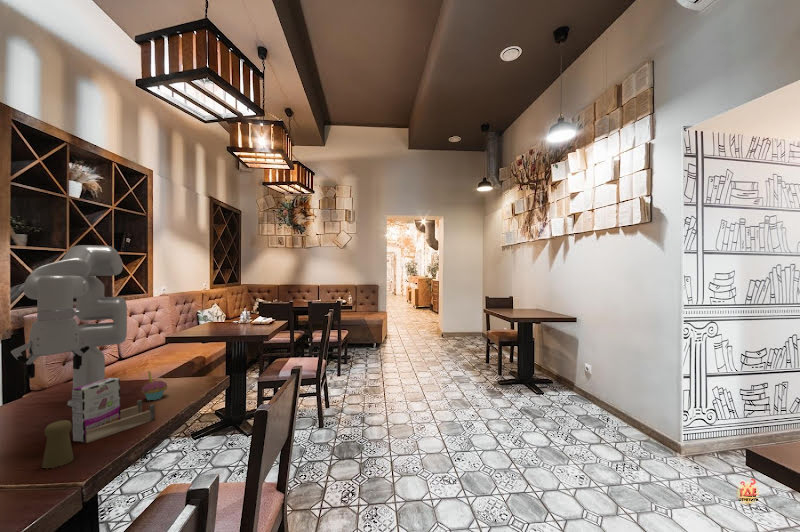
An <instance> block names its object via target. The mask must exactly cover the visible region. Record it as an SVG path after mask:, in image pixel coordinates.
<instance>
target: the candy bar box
mask: <svg viewBox="0 0 800 532" xmlns="http://www.w3.org/2000/svg"><path fill="white" fill-rule="evenodd" d="M71 399H72V407H71V410H72V411H71V412H72V415H71V417H72V441H73V442H76V443H86V430H90V429H93V428H96V427H99V426H102V425H105V424H108V423H111V422H114V421H118V420H121V415H120V411H121V378H118V377H107V378H105V379H104V380H100V381H97V382H94V383H91V384H87V385H84V386H81V387H78V388H74V389H73V388H71Z"/></svg>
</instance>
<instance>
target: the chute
mask: <svg viewBox="0 0 800 532" xmlns="http://www.w3.org/2000/svg"><path fill="white" fill-rule="evenodd" d="M155 413H156V412H155V404H154V403H153V404H150V405H148V410H146V411H143V400H142V399H139V400H137V401H136V405H134V406H130V407H127V408H124V409H120V415H121V420H118V421H114V422H111V423H108V424H105V425H102V426H99V427H96V428H93V429H90V430H86V442H85V443H86V444H88V443H89V444H90V443H91V442H95V441H98V440H100V439H103V438H107V437H109V436H112V435H115V434H118V433H120V432H124V431H127V430H129V429H132V428H135V427H138V426H141V425H144V424H146V423H150V422H152V421H155V420H156V419H155V416H156V414H155Z"/></svg>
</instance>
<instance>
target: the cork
mask: <svg viewBox="0 0 800 532" xmlns="http://www.w3.org/2000/svg"><path fill="white" fill-rule="evenodd" d="M72 428H73V423H72V422H71V421H70V420H68V419H67V420H66V419H64V420H63V419H62V420H57V421H55V422H51V423H49V424H48V425H47V426H46V427H45V428H44V435H45V437H46V444H45V448H44V455H43V460H42V465H41V469H42V468H47V469H46V470H49V469H48V468H52V469H56V468H55V467H57V468H59V467H58V466H60V467H62V465H63V466H65V465H68V464H69V463H71V462H72V461H73V460H74V453H73V448H72V443H71V436H70V431H71V430H72ZM64 464H65V465H64Z"/></svg>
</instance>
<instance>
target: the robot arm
mask: <svg viewBox="0 0 800 532" xmlns="http://www.w3.org/2000/svg"><path fill="white" fill-rule="evenodd" d="M123 269H124V265H123V260H122V258H121V256H120V254H119V252H118V250H117V249H115V248H114V247H113V246H110V245H97V244H96V245H91V244H87V245H86V244H82V245H75V246H72V247H71V248H70V249H68V251H66V253H65V255H64V256H63V258H62V259H61V260H57V261H53V262H51V263H48V264H45V265H40V266H39V267H37V268H35V269H33V270H32V271H31V273H30V274H29V275H28V276H27V278H25V281H24V284H23V288H22V289H23V294H24V295H25V296H26V297H27V298H28V299H30V300H37V304H36V305H37V307H36V309H37V312H36V321H33V322H32V324H31V327H30V333H29V338H28V342H27V343H25V344H23V345H21V346H18V347H17V348H14V349H13V350H10V353H11V354H12V356H13V357H14V358H15V359H16V360H17V361H19V362H21V363H23V364H24V366H25V367H24V368H25V369H24V375H25V376H26V377H27V378H30V379H34V378H35V377H36V364H35V363H34V361H36V360H37V359H38V358H39V357H43V356H51V355H58V354H65V353H70V352H71V353H72V389H74V388H78V387H81V386H84V385H87V384H91V383H94V382H97V381H100V380H104V379H106V376H105V375H106V372H105V371H106V368H105V367H106V358H105V354H104V352H103V351H102V350H101V349H99V347H104V346H113V345H114V346H115V345H121V344H123V343H125V341H126V339H127V336H128V334H127V333H128V322H127V321H128V307H127V302H126V300H125V298H123V297H121V296H105V284H104V283H103V282H102V280H100V279H99V278H98V277H99V276H100V277H101V276H103V277H104V276H106V277H107V276H117V275H120V274H121V273H122V272H123ZM74 299H76V304H75V305H76V306H75V307H76V308H75V309H74ZM75 316H76V318H77V319H78V320H81V321H101V320H103V321H104V320H111V321H112V322H97V323H96V322H95V323H84V324H79V325H78V321H77V319H76V318H75ZM26 350H27V351H28V356H27V357H26V356H23V352H24V351H26ZM66 405H67V406H68V407H71V408H72V398H71V399H69V400H68V401H67V404H66Z"/></svg>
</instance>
